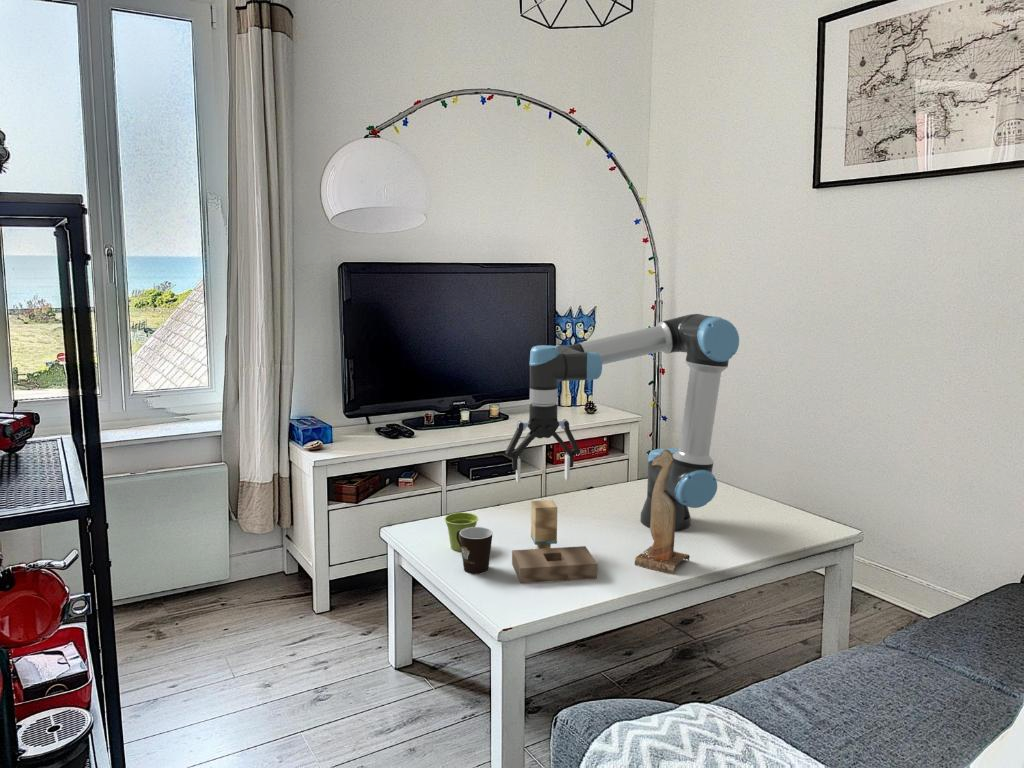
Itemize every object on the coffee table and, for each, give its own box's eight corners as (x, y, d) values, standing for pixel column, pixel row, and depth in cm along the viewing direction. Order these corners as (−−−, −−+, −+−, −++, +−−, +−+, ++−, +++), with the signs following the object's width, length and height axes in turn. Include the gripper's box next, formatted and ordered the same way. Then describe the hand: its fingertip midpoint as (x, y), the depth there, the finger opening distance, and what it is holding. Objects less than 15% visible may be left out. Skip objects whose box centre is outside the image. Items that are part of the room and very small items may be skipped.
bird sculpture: (649, 553, 218) (649, 441, 213) (690, 560, 212) (692, 445, 207) (634, 567, 209) (634, 450, 203) (676, 575, 203) (677, 455, 197)
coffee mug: (496, 573, 203) (496, 537, 201) (463, 577, 200) (463, 540, 199) (484, 556, 214) (485, 521, 212) (453, 560, 211) (453, 524, 210)
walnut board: (585, 560, 212) (585, 546, 211) (597, 578, 200) (597, 563, 200) (512, 564, 209) (512, 550, 208) (520, 583, 197) (520, 568, 196)
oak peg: (551, 547, 221) (552, 499, 218) (556, 556, 215) (557, 507, 212) (530, 549, 220) (531, 501, 217) (534, 557, 214) (535, 508, 211)
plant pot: (474, 555, 215) (474, 524, 213) (440, 552, 217) (440, 522, 215) (481, 542, 224) (481, 513, 222) (449, 540, 226) (449, 511, 224)
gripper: (585, 399, 216) (583, 474, 219) (495, 402, 212) (495, 477, 215) (592, 404, 209) (590, 481, 212) (499, 407, 204) (499, 486, 208)
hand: (542, 480), depth 214 cm, fingers open, 13 cm apart
